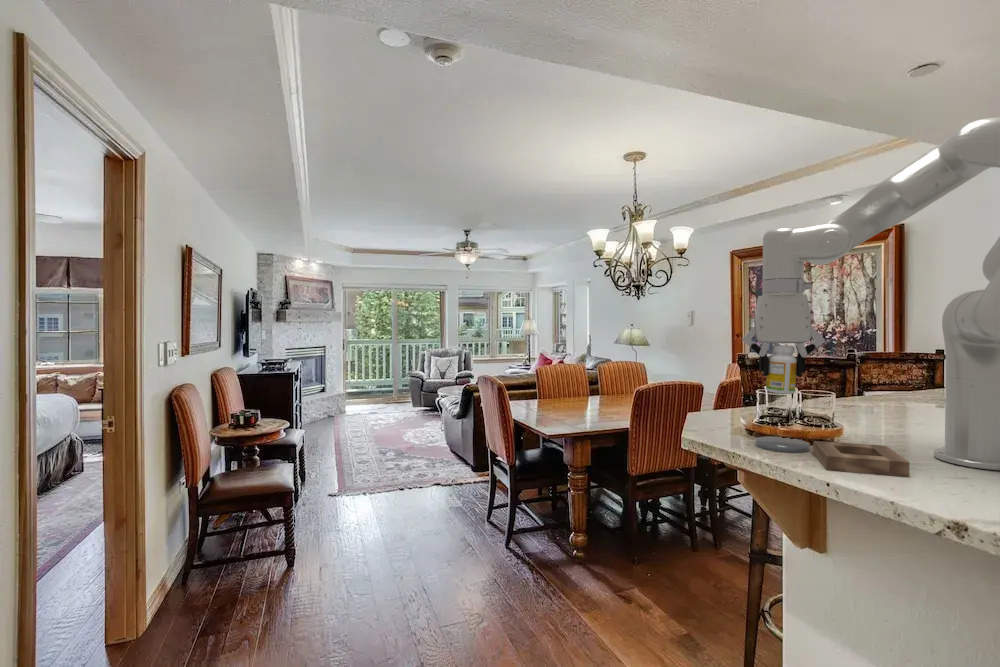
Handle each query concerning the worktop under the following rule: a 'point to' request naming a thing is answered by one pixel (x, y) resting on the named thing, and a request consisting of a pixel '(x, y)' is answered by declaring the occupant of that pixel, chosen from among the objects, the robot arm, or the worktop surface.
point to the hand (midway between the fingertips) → (781, 374)
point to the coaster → (782, 444)
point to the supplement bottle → (781, 370)
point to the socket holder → (860, 458)
